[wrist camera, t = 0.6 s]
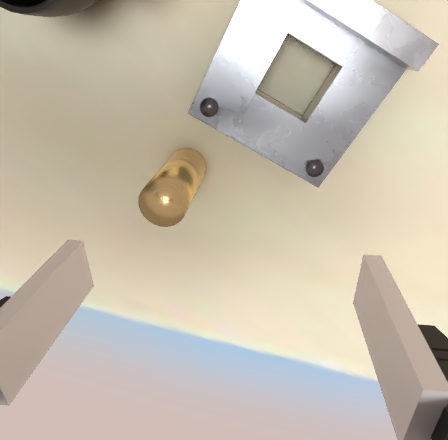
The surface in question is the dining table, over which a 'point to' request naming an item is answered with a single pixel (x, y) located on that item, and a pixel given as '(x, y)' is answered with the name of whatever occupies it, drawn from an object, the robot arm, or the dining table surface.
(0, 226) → the dining table surface
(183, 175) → the brass cylinder
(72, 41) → the dining table surface
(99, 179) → the dining table surface
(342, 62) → the jig
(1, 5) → the mug
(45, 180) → the dining table surface
